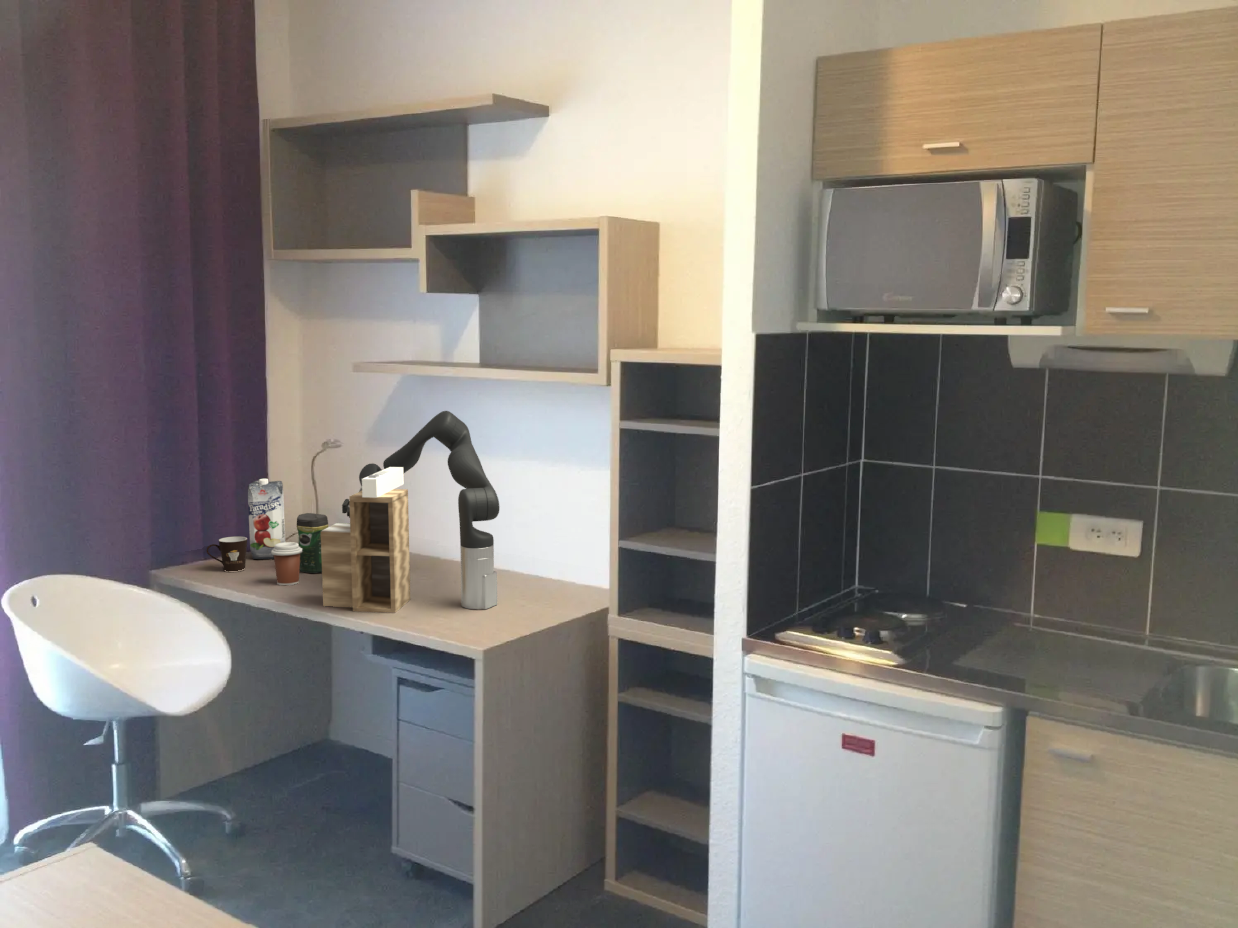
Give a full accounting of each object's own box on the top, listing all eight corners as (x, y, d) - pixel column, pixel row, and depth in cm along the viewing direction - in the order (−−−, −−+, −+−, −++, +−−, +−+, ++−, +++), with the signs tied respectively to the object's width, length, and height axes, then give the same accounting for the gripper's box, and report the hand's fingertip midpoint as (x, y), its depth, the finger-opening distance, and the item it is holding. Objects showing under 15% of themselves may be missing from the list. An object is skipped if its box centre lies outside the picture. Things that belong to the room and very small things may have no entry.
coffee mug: (253, 567, 350) (251, 536, 349) (241, 573, 342) (239, 542, 341) (218, 566, 352) (217, 536, 350) (206, 572, 343) (204, 541, 342)
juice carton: (256, 554, 369) (252, 476, 365) (287, 554, 369) (284, 476, 366) (248, 560, 360) (245, 480, 356) (281, 560, 360) (277, 480, 357)
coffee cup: (306, 579, 334) (305, 541, 333) (300, 586, 325) (298, 547, 324) (276, 579, 334) (274, 541, 332) (269, 586, 325) (267, 547, 323)
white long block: (390, 483, 316) (389, 465, 315) (403, 484, 316) (403, 465, 315) (362, 497, 292) (361, 477, 292) (376, 497, 292) (376, 477, 291)
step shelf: (338, 595, 315) (335, 486, 311) (412, 597, 312) (409, 488, 308) (317, 610, 299) (313, 495, 295) (395, 612, 297) (392, 497, 292)
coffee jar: (334, 569, 347) (332, 512, 344) (316, 575, 340) (314, 516, 337) (311, 566, 351) (309, 510, 349) (293, 571, 344) (291, 514, 342)
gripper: (346, 484, 328) (339, 502, 312) (394, 484, 330) (390, 502, 314) (347, 507, 330) (340, 526, 315) (394, 508, 332) (390, 527, 316)
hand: (365, 514), depth 314 cm, fingers open, 8 cm apart
